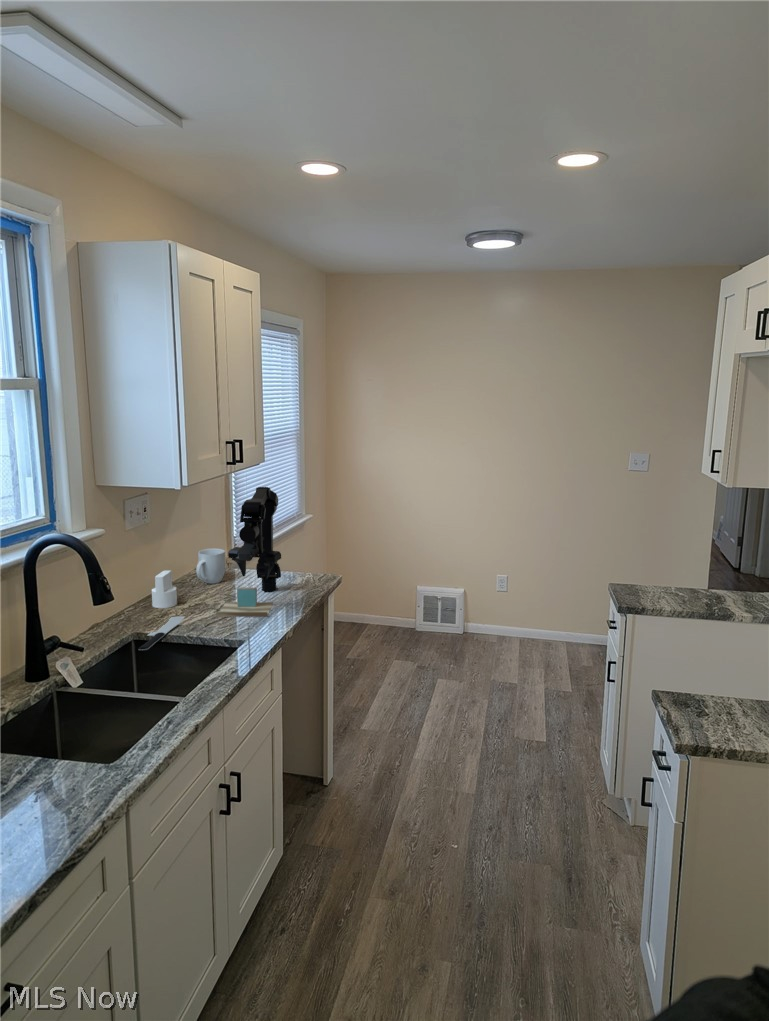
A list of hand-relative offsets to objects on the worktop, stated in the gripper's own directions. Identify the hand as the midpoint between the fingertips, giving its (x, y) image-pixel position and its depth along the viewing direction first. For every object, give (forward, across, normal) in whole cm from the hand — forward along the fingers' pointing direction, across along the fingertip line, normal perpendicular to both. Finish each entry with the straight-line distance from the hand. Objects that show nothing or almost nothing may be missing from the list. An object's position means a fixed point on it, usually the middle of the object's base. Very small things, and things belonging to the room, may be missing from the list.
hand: (255, 577), depth 248 cm
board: (+13, -4, -1) cm, 14 cm away
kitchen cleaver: (+13, -20, -30) cm, 38 cm away
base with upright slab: (+14, -37, -4) cm, 39 cm away
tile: (+12, -5, +2) cm, 13 cm away
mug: (+14, -36, +27) cm, 48 cm away
